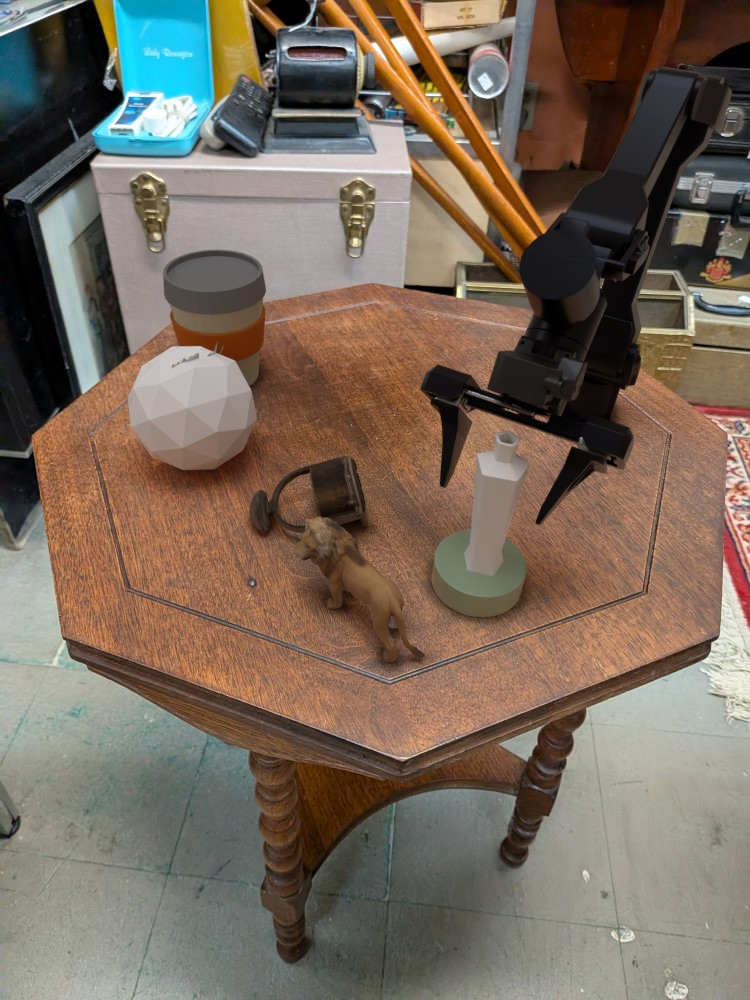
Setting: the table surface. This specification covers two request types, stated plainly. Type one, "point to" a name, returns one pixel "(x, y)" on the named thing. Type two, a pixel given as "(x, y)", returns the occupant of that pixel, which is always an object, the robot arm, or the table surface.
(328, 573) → the lion figurine
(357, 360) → the table surface
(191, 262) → the reusable coffee cup
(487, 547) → the perfume bottle
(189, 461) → the geodesic sphere
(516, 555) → the ceramic stand
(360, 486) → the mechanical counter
